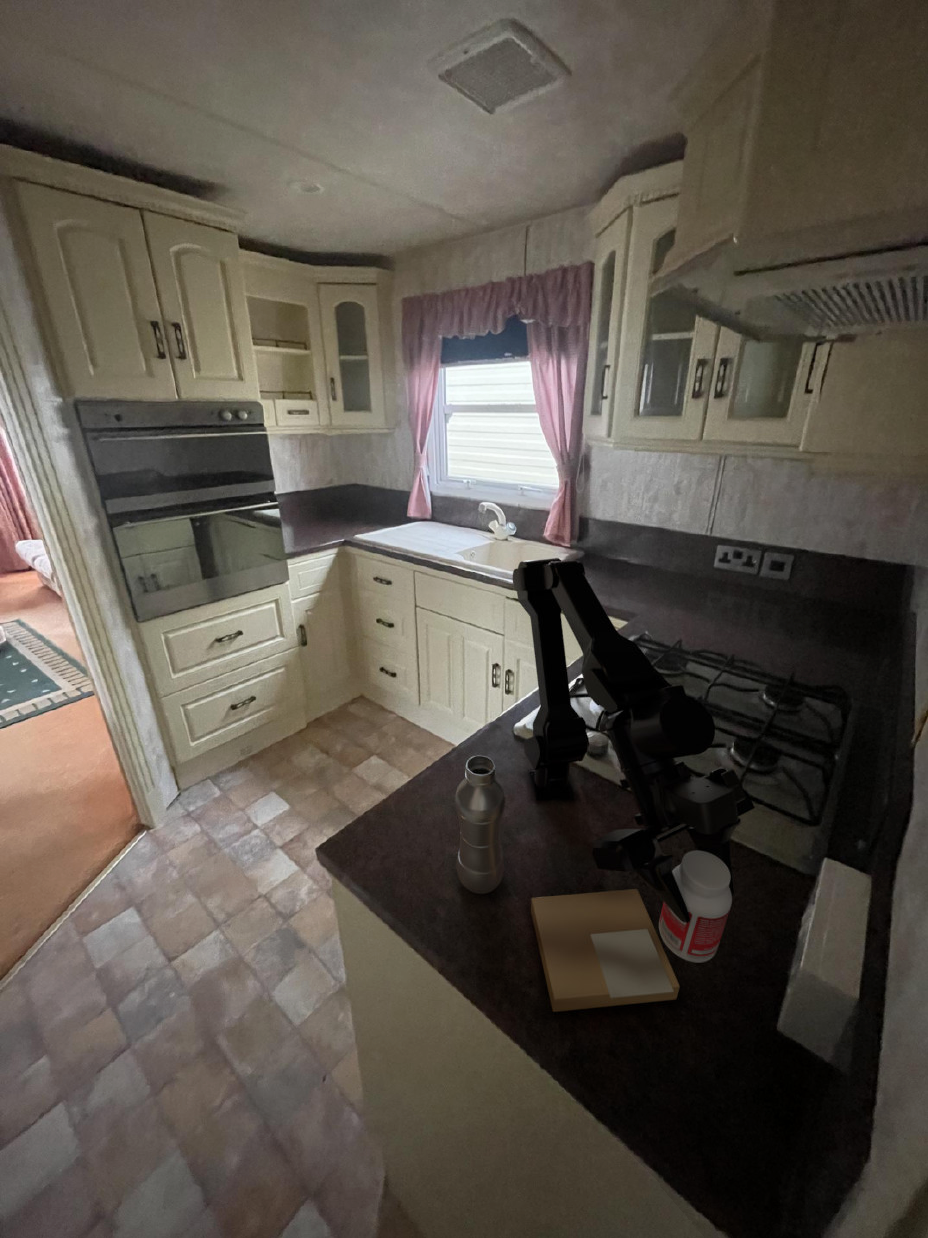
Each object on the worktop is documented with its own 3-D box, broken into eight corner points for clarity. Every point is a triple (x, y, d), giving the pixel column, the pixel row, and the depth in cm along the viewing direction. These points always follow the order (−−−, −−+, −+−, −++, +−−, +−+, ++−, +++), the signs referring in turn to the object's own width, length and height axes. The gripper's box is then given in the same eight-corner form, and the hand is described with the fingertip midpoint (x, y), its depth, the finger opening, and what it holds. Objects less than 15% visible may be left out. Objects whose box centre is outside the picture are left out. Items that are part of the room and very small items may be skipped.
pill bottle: (720, 928, 59) (742, 860, 54) (711, 976, 54) (735, 907, 49) (664, 901, 62) (680, 835, 57) (651, 945, 57) (668, 876, 52)
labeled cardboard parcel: (530, 910, 67) (531, 896, 66) (634, 901, 68) (637, 887, 67) (554, 1017, 56) (555, 1003, 54) (678, 1004, 57) (682, 990, 56)
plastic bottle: (468, 908, 67) (467, 791, 59) (449, 868, 73) (445, 755, 64) (512, 890, 69) (517, 775, 61) (490, 852, 75) (491, 742, 67)
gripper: (625, 782, 47) (699, 967, 43) (759, 726, 55) (834, 879, 50) (566, 791, 57) (622, 943, 53) (687, 742, 64) (745, 872, 60)
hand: (708, 908), depth 54 cm, fingers closed on pill bottle, 6 cm apart
